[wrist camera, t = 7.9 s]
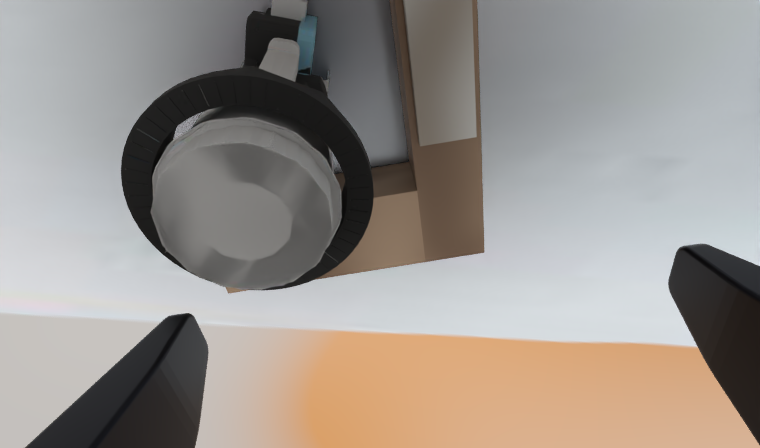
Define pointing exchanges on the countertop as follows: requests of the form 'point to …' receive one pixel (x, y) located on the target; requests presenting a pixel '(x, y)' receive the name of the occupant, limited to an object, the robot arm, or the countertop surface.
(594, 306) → the countertop surface
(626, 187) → the countertop surface
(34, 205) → the countertop surface
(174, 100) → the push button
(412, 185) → the notched board
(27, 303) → the countertop surface
